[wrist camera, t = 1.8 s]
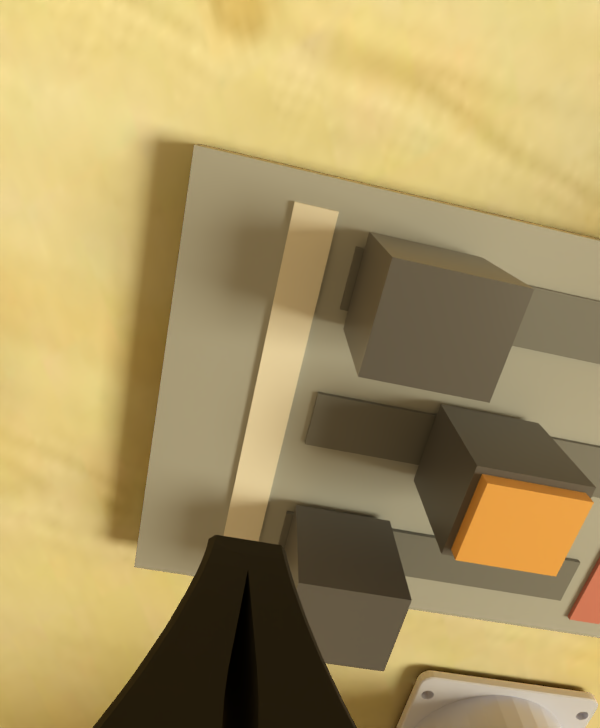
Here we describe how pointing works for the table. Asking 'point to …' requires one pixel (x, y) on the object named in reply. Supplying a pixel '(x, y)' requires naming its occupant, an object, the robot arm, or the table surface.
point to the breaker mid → (501, 491)
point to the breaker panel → (353, 382)
